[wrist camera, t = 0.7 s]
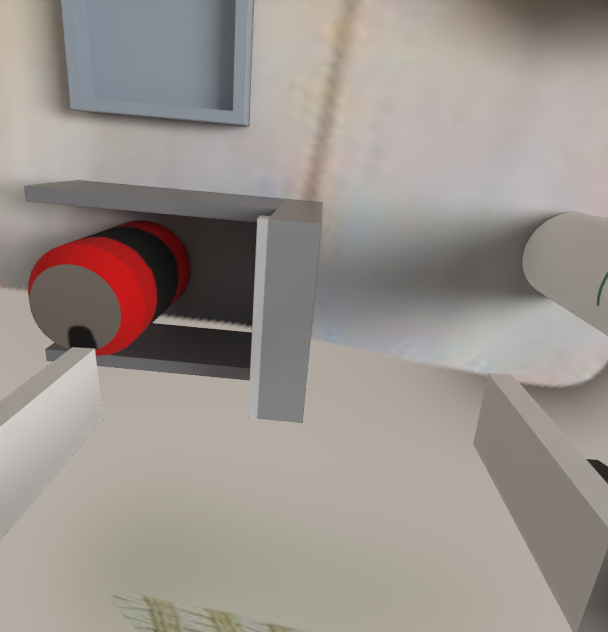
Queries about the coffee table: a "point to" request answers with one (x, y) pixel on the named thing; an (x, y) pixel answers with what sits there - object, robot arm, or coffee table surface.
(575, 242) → the cylindrical container
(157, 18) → the tray
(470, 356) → the coffee table surface
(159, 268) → the soda can
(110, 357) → the gray open box
